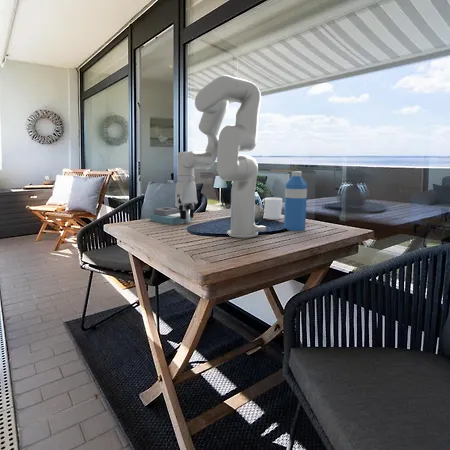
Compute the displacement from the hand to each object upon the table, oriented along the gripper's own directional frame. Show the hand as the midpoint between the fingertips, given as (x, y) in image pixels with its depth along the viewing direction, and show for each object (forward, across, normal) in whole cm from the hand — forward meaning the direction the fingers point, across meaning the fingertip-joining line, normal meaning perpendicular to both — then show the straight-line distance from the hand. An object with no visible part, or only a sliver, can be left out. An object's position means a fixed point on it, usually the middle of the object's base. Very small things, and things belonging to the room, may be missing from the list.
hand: (186, 217), depth 160 cm
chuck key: (+3, 0, 0) cm, 3 cm away
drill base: (+3, 0, -12) cm, 12 cm away
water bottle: (+3, -22, +45) cm, 50 cm away
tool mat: (0, 0, -7) cm, 7 cm away
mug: (+3, -37, +23) cm, 44 cm away
